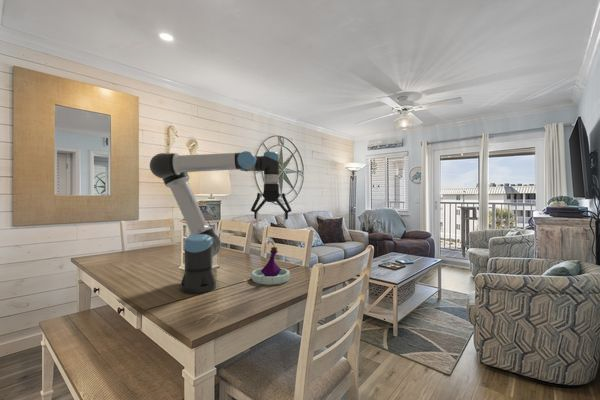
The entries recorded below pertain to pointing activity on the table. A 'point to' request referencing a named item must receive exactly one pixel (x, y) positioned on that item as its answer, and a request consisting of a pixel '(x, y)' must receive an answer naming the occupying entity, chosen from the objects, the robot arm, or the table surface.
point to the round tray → (261, 279)
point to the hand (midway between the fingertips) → (271, 225)
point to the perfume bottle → (271, 264)
